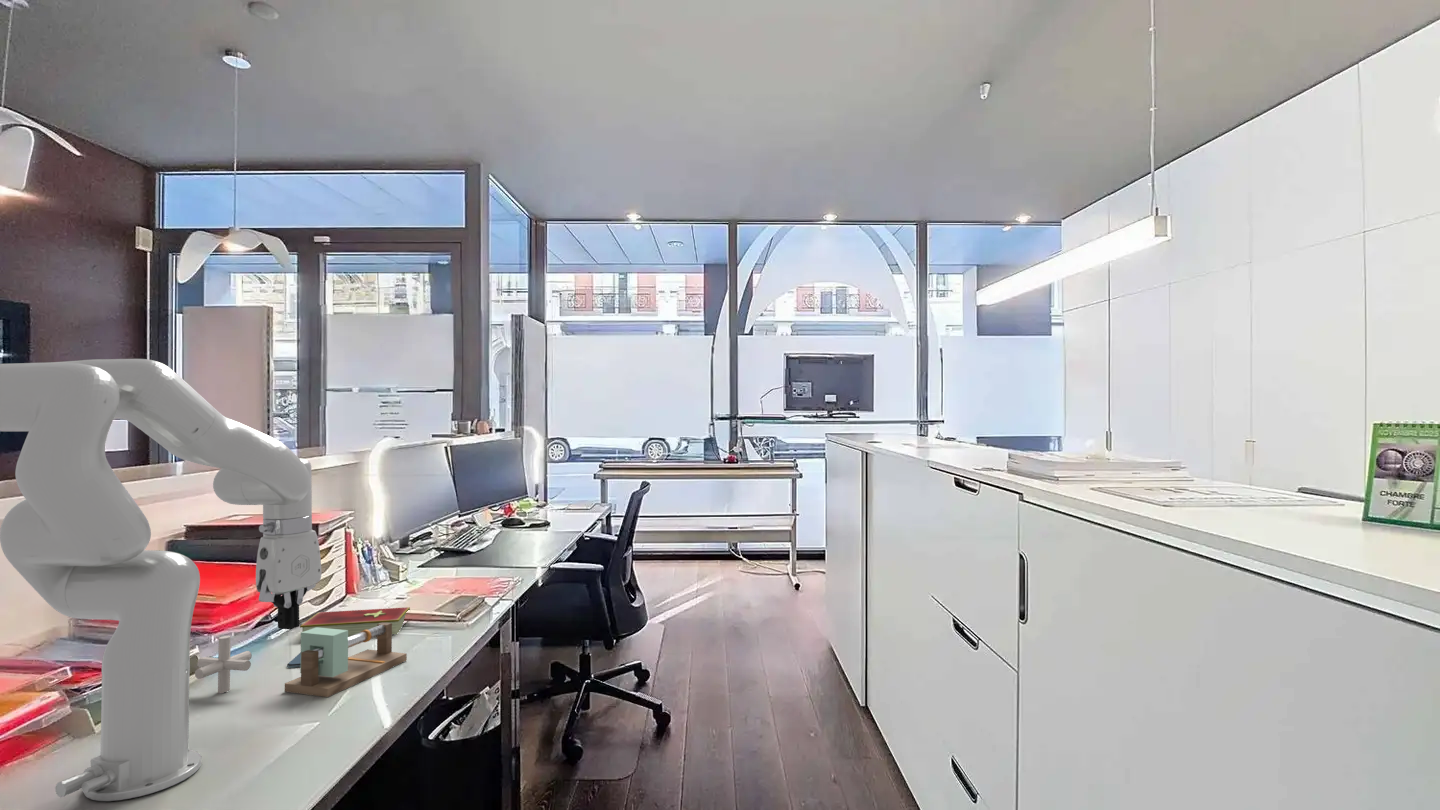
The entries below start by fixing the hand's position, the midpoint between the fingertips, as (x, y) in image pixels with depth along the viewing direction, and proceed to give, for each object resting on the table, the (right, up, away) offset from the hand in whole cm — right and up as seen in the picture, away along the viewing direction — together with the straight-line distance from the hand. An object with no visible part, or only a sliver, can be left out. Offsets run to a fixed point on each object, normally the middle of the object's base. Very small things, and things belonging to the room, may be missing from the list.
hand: (288, 627), depth 125 cm
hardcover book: (-9, -15, +41) cm, 44 cm away
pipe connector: (-14, -13, +3) cm, 19 cm away
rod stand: (+5, -13, +11) cm, 18 cm away
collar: (+3, -10, +5) cm, 12 cm away
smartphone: (-8, -14, +23) cm, 28 cm away
